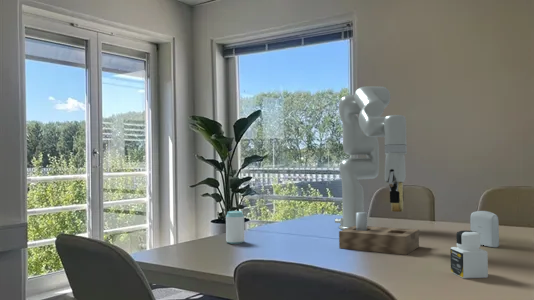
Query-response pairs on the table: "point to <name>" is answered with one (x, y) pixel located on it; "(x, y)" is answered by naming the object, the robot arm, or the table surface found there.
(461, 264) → the medicine bottle
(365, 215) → the grey pin
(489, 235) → the photo printer
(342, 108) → the robot arm
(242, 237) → the can
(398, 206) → the brass pin
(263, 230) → the table surface
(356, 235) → the bore block
